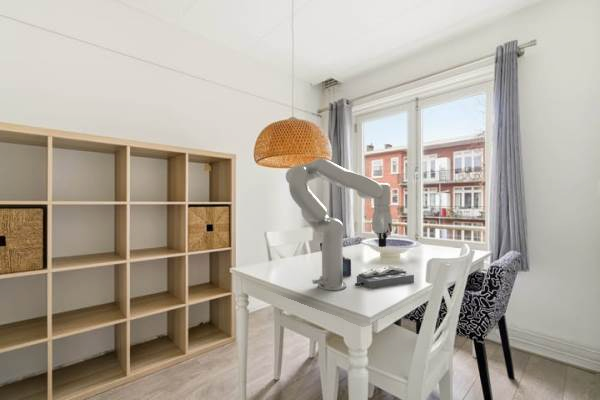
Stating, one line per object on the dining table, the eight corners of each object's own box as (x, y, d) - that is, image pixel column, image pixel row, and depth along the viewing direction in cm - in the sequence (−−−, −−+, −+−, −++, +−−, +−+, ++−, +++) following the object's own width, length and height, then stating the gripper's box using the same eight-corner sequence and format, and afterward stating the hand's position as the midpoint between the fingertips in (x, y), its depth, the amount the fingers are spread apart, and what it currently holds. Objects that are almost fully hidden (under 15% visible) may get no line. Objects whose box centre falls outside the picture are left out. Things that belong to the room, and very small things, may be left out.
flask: (333, 275, 146) (333, 255, 146) (334, 273, 148) (334, 254, 148) (350, 276, 143) (350, 256, 143) (351, 275, 145) (351, 255, 145)
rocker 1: (366, 276, 128) (365, 274, 128) (361, 274, 131) (361, 272, 131) (376, 272, 130) (376, 269, 130) (371, 270, 134) (371, 267, 134)
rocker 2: (380, 274, 131) (379, 272, 131) (375, 273, 135) (374, 270, 134) (390, 270, 134) (389, 267, 133) (384, 268, 137) (384, 266, 137)
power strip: (362, 290, 121) (362, 280, 121) (349, 284, 130) (349, 275, 130) (414, 281, 133) (413, 273, 133) (399, 276, 142) (398, 268, 142)
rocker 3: (393, 269, 134) (393, 267, 134) (388, 268, 138) (388, 265, 138) (402, 271, 137) (403, 269, 137) (397, 270, 140) (397, 267, 140)
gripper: (366, 208, 139) (366, 244, 139) (386, 209, 126) (386, 249, 126) (378, 208, 142) (378, 243, 142) (399, 209, 129) (399, 248, 129)
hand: (382, 246), depth 134 cm, fingers closed
